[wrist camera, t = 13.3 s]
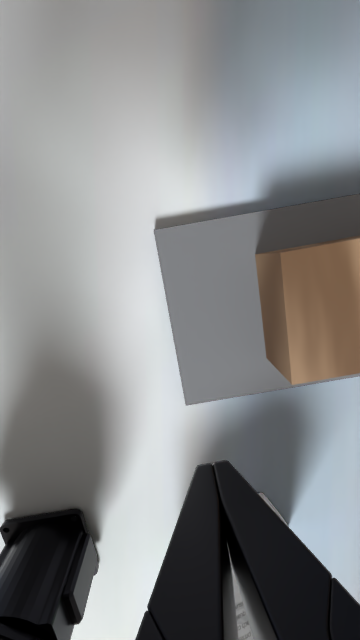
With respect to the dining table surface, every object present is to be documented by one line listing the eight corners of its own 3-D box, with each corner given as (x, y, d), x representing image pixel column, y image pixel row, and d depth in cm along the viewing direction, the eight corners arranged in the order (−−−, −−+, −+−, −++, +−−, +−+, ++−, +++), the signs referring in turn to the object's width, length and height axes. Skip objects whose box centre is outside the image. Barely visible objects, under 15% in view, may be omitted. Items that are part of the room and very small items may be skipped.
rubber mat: (185, 399, 20) (185, 405, 19) (154, 231, 17) (153, 229, 16) (373, 367, 19) (382, 372, 19) (372, 192, 17) (382, 189, 16)
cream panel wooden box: (292, 384, 14) (442, 358, 14) (280, 252, 13) (449, 222, 13) (266, 358, 18) (384, 337, 18) (255, 254, 17) (384, 231, 17)
